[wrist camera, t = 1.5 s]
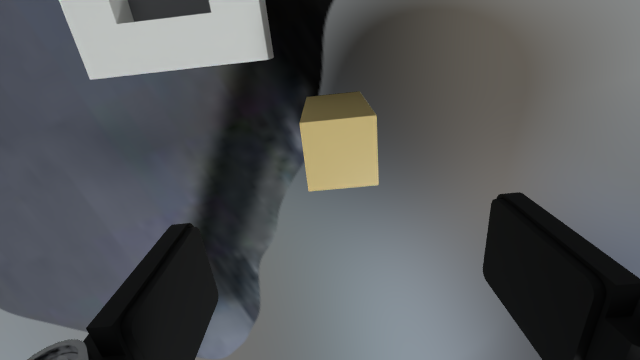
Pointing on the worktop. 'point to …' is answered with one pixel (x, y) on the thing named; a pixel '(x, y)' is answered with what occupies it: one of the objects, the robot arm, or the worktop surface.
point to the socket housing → (166, 34)
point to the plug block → (339, 141)
